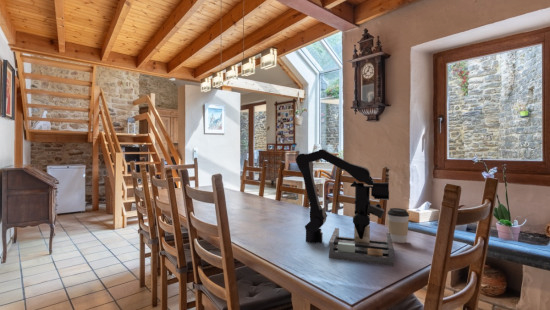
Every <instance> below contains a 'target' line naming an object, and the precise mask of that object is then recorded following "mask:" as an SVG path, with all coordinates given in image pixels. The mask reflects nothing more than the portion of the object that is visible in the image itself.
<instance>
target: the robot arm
mask: <svg viewBox="0 0 550 310" xmlns="http://www.w3.org/2000/svg"><path fill="white" fill-rule="evenodd" d="M319 160H324V161H325V162H328V163H330V164H331V165H333V166H335V167H337V168H339V169H341V170H342V171H345V172H347V174H349V175H350V176H351V177H352V178H353V179H355V180H354V181H353V182H352V183H351V184H350V187H351V188H352V187H353V188H354V213H353V214H354V215H353V216H352V223H353V225H355V228H356V230H357V233H358V235H359V238H360V239H363V235H364V231H365V227H366V226H368V225H370V223H371V217H370V216H371V215H373V216H375V217H377V218H379V219H382V218H383V215H384V214H385V209H384V208H382V205H381V204H380V203H376V204H375V205H374V204H373V203H372V204H371V200H370V195H371V197H372V198H373V200H385V201H387V200H388V201H389V200H390V187H389V185H390V184H389V183H390V182H375V180H374V179H373V178H372V176H371V172H370V169H369V168H368V167H365V166H362V165H358V164H354V163H351V162H349V161H347V160H346V159H343V158H341V157H340V156H337V155H335V154H333V153H331V152H329V151H328V150H327V149H324V148H321V149H319V150H316V151H312V152H310V153H299V154H298V155H297V156H296V158H295V162H296V165H297V168H298V170H299V172H300V173H301V175H302V178H303V182H304V187H305V191H306V195H307V199H308V204H309V222H308V223H307V224H305V226H304V229H305V243H311V244H322V243H323V239H324V238H323V237H324V236H323V235H324V234H323V232H322V227H323V225H325V223H327V222H326V221H327V217H328V214H327V211H326V207H322V205H321V204H320V199H319V195H318V192H317V187H316V183H315V179H314V174H313V171H314V169H313V166H314V164H313V162H316V161H319ZM357 181H358V182H357ZM370 193H371V194H370Z"/></svg>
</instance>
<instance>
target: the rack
mask: <svg viewBox="0 0 550 310" xmlns="http://www.w3.org/2000/svg"><path fill="white" fill-rule="evenodd" d="M338 242H342V243H351V244H355V253H352V252H343V251H338ZM368 248H373V249H382V251H383V252H382V256H378V255H369V254H368ZM394 248H395V247H394V244H393V241H392V239H391V235H390V233H389V232H385V240H377V239H370V243H366V242H357V241H354V237H347V236H340V228H338V227H337V228H336V227H335V228H334V230H333V232H332V235H331V237H330V239H329V241H328V259H333V260H342V261H349V262H356V263H357V262H359V263H365V264H373V265H381V266H388V267H394V252H395V251H394Z"/></svg>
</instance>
